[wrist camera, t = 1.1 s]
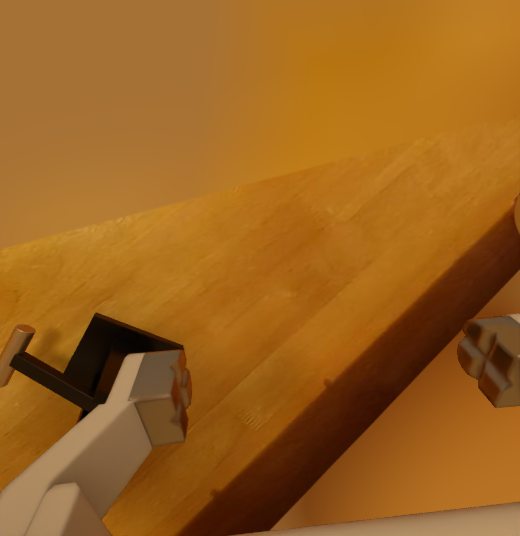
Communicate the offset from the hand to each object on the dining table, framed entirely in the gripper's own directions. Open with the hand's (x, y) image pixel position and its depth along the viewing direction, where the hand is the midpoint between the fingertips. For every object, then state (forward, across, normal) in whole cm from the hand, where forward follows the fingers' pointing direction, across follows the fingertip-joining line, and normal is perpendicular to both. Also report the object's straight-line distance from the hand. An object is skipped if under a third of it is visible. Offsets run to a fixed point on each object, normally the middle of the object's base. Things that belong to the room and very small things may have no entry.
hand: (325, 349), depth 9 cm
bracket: (+19, +17, +18) cm, 31 cm away
